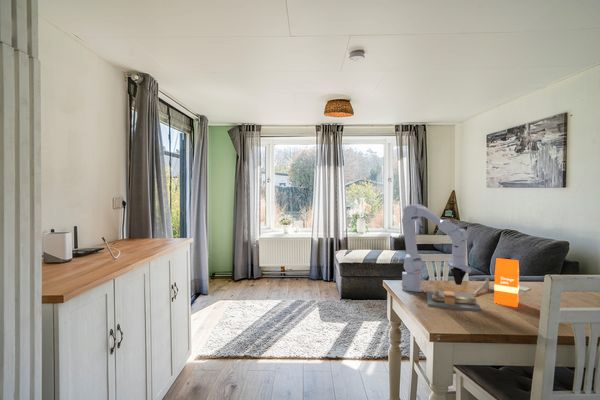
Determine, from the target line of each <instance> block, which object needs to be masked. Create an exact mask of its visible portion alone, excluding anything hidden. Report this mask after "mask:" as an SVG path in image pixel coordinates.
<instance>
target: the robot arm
mask: <svg viewBox="0 0 600 400" xmlns="http://www.w3.org/2000/svg"><path fill="white" fill-rule="evenodd" d="M420 217H423V218H426V219H427V220H429V221H430V222H432V223H433V224H435V225H436V226H437V228H438V230H439V231H441V232H443V233H444V235H445V234H446V235H447V236H448V237H449V238H450V239H451V240H450V241H452V243H451V244H452V246H451V248H452V250H451V251H452V252H451V253H452V254H451V260H448V261H447V263H446V264H447V266H449V267H452V268H450V271H451V274H452V275H453V279H454V283H455V285H457V286H462V283H463V280H464V278H465V276H466V274H467V273H472V268H471V267H469V266H468V265H466V264H467V263H466V262H467V260H466V259H467V240H468V239H469V233H468V231H467V230H466V229H465V228H460V226H458V225H456V224H454V223H453V222H452V221H451V220H450V219H446V218H445V219H442V218H441V217H439V216H438V215H437V214H435V213H434V212H432V211H431V210H430V209H429V208H428V207H427V206H424V205H423V204H421V203H416V204H408V205H406V206H405V207H404V209H403V215H402V219H401V225H402V230H403V237H404V244H405V251H406V254H405V256H404V258H403V261H404V263H403V269H404V270H405V271H402V274H401V278H402V280H401V281H402V282H401V286H402V287H401V288H402V289H401V291H406V292H417V293H422V292H423V288H422V270H423V269H424V266H425V263H424V261H423V260H422V256H421V255H420V254H419V252H418V245H417V238H416V234H415V233H416V232H415V222H416V221H417V220H418V219H420Z"/></svg>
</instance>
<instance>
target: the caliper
mask: <svg viewBox="0 0 600 400" xmlns="http://www.w3.org/2000/svg"><path fill="white" fill-rule="evenodd" d="M484 289H485V290H489V289H490V279H489V277H485V280H484V281H483V282H482V283H481V285H480V286H479V287H478V288H477V289H476V290H475V291H474V292H473V293H472V295H473V296H474V297H476V296H478V295H479V293H481V291H483V290H484Z"/></svg>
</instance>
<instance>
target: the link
mask: <svg viewBox="0 0 600 400" xmlns="http://www.w3.org/2000/svg"><path fill="white" fill-rule="evenodd" d="M434 291H435V294H433V295H432V300H435V301H445V296H444V295H439V292H440V291H437V290H434ZM476 301H477V298H476V297H474V298H469V297H457V296H455V302H458V303H469V304H476Z"/></svg>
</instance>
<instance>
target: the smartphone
mask: <svg viewBox="0 0 600 400" xmlns="http://www.w3.org/2000/svg"><path fill="white" fill-rule="evenodd" d="M521 291H522V292H528V291H531V288H530V287H526V286H522V285H519V292H521Z"/></svg>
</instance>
